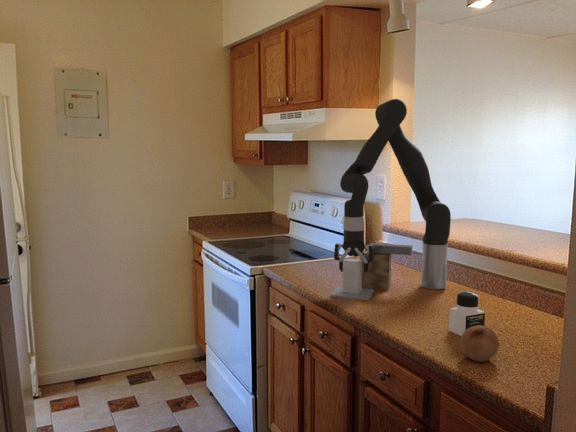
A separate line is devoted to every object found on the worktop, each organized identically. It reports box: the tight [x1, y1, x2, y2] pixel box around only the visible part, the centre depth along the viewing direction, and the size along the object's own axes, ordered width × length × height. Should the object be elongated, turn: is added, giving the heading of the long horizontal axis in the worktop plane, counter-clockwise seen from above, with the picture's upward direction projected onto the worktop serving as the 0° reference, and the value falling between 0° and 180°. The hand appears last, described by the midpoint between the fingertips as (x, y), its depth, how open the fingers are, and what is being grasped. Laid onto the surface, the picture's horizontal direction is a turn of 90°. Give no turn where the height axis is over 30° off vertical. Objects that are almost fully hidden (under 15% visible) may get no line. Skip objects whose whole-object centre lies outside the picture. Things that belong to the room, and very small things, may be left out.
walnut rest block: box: [359, 250, 392, 291], centre depth 206 cm, size 11×6×14 cm, turn 72°
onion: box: [459, 325, 500, 363], centre depth 137 cm, size 10×9×10 cm
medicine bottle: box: [448, 291, 486, 337], centre depth 156 cm, size 7×7×12 cm
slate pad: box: [329, 286, 375, 301], centre depth 197 cm, size 14×12×1 cm
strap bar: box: [368, 242, 414, 256], centre depth 203 cm, size 16×4×3 cm, turn 72°
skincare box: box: [342, 258, 362, 294], centre depth 196 cm, size 6×4×12 cm
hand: (353, 272), depth 196 cm, fingers open, 8 cm apart
